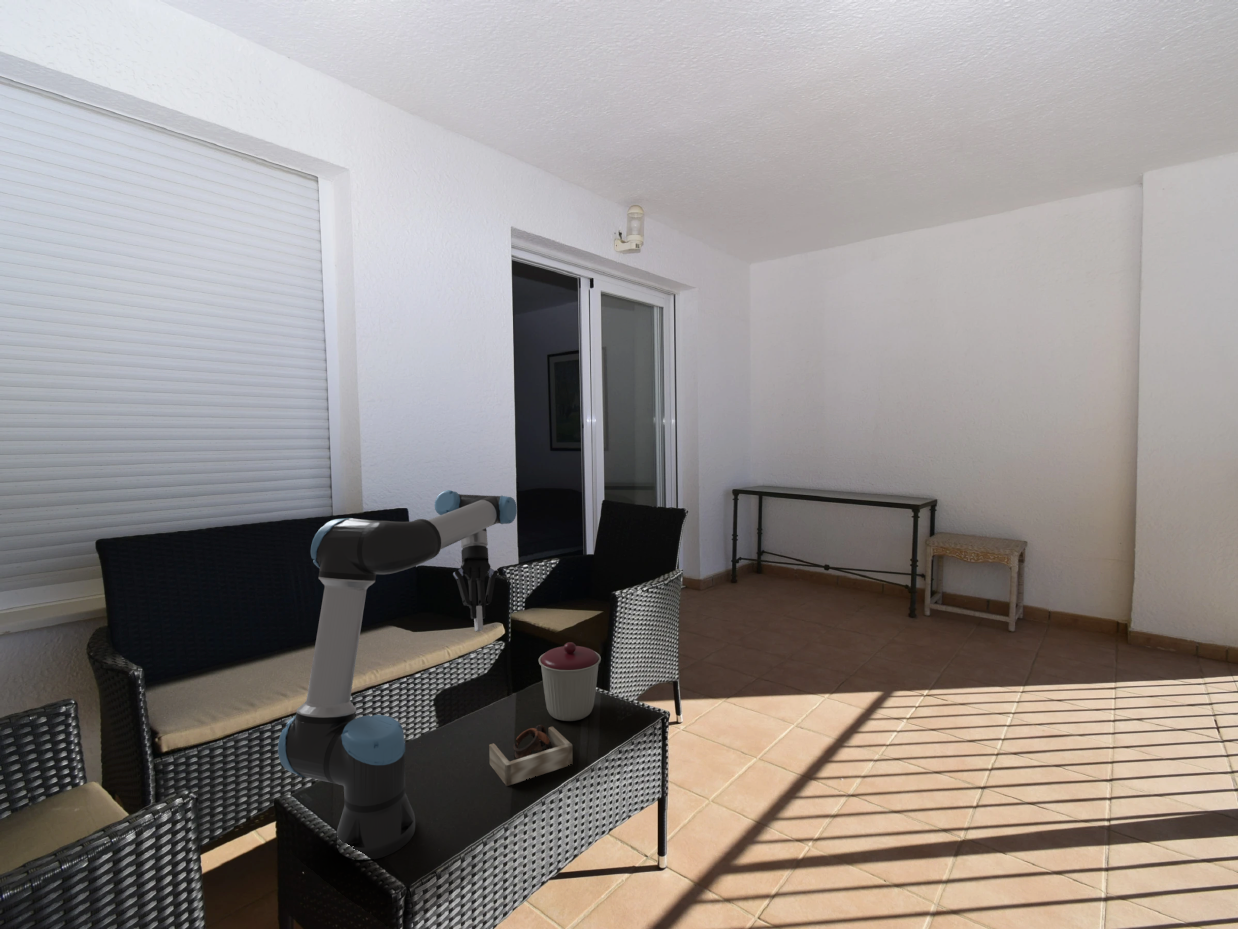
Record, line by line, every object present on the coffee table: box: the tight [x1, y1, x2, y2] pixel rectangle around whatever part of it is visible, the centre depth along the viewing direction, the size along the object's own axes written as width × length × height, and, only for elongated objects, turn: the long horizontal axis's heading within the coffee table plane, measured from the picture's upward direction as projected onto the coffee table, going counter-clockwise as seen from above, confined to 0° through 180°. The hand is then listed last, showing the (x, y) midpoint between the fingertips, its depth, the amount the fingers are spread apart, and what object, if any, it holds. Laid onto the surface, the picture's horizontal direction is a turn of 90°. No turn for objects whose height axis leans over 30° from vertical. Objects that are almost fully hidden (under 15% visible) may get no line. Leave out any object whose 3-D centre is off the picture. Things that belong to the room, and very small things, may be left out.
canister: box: [538, 641, 602, 722], centre depth 181 cm, size 18×18×21 cm
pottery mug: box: [512, 724, 553, 759], centre depth 158 cm, size 12×10×8 cm
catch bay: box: [488, 726, 574, 787], centre depth 154 cm, size 17×11×5 cm, turn 122°
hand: (478, 630), depth 171 cm, fingers closed
